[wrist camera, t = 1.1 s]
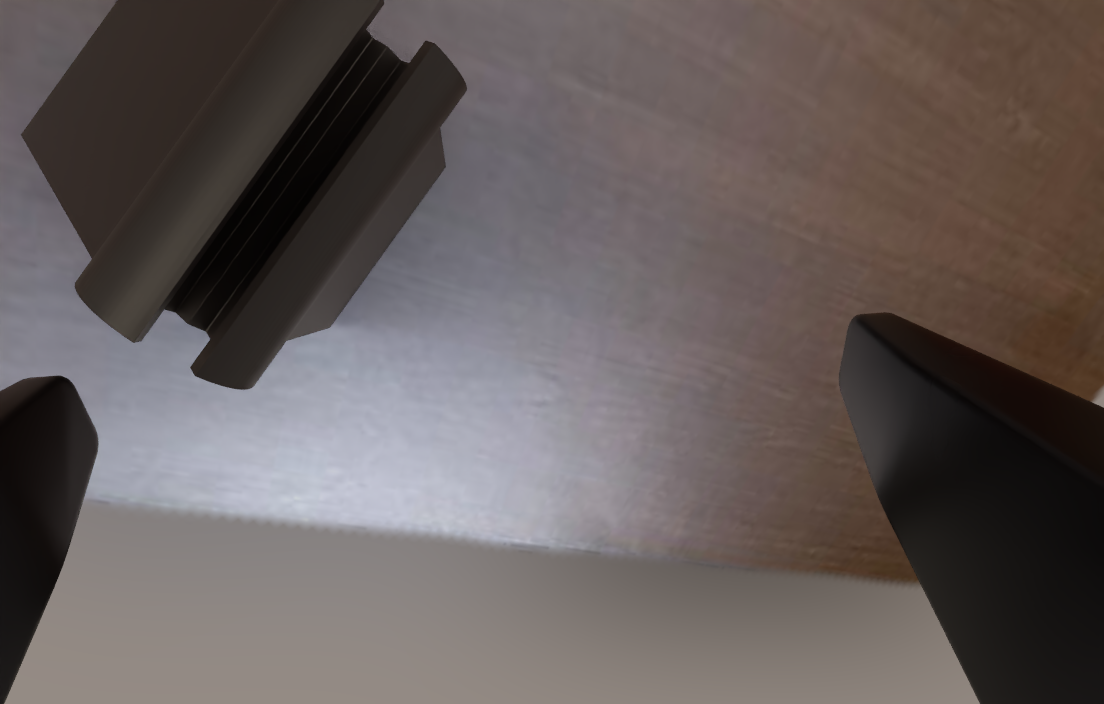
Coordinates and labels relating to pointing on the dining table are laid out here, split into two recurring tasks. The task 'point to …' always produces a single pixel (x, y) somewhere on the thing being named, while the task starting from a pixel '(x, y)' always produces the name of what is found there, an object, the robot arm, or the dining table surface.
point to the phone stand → (239, 165)
